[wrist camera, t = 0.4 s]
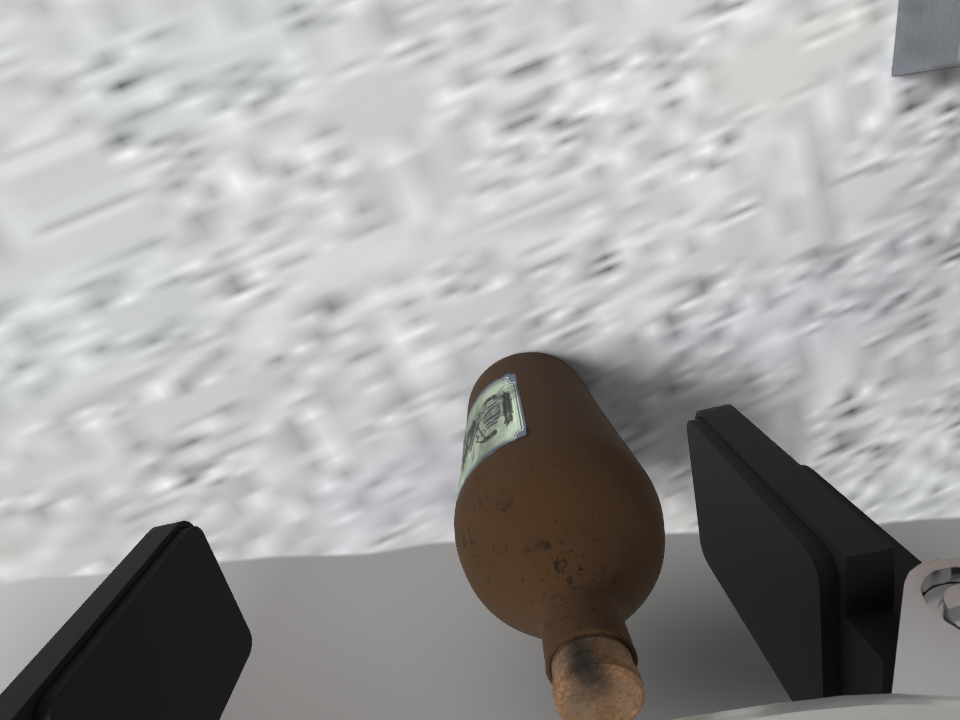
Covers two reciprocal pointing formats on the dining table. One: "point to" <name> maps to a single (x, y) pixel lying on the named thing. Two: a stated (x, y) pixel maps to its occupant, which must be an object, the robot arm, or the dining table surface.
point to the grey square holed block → (926, 36)
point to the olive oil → (559, 529)
